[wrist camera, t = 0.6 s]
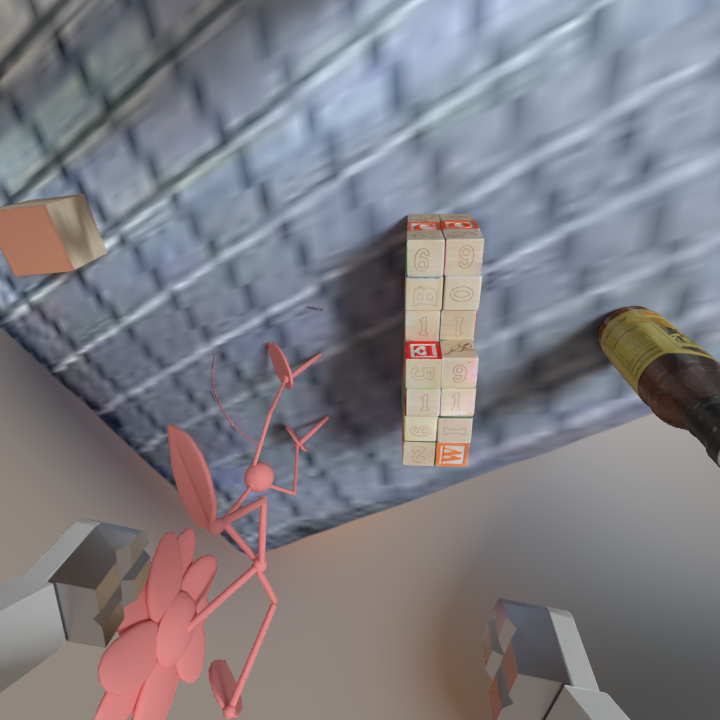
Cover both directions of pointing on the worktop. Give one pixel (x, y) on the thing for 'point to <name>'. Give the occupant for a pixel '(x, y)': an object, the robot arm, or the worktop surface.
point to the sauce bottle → (666, 372)
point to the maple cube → (49, 235)
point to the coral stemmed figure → (190, 587)
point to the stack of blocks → (440, 338)
